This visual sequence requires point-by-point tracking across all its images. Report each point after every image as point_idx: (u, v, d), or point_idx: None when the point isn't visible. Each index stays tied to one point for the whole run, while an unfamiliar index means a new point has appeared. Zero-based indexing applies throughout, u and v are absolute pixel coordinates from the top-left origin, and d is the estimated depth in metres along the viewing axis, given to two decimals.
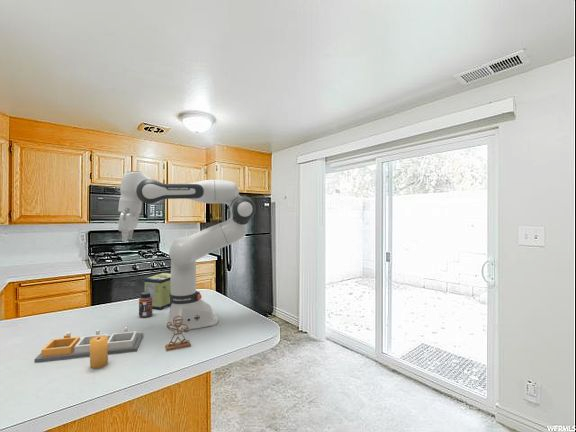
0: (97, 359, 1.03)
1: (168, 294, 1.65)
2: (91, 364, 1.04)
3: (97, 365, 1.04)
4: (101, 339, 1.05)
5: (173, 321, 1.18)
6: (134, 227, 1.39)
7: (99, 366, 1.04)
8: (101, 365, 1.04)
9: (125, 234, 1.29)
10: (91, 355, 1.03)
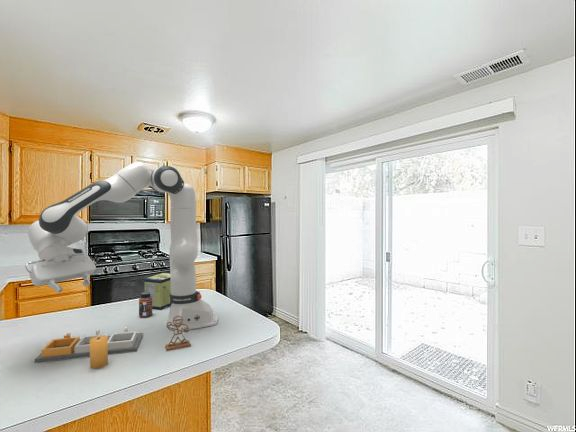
0: (97, 359, 1.03)
1: (168, 294, 1.65)
2: (91, 364, 1.04)
3: (97, 365, 1.04)
4: (101, 339, 1.05)
5: (173, 321, 1.18)
6: (80, 270, 1.14)
7: (99, 366, 1.04)
8: (101, 365, 1.04)
9: (51, 284, 1.05)
10: (91, 355, 1.03)
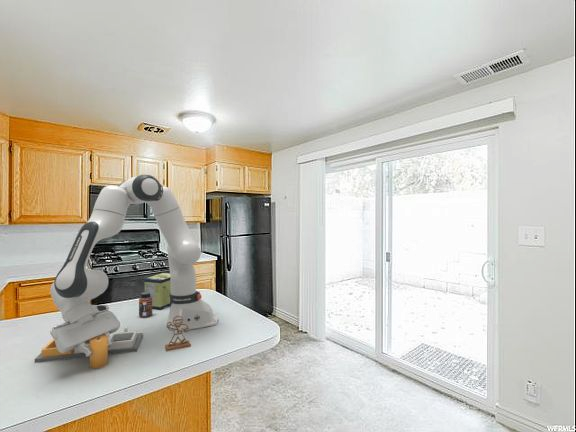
0: (97, 359, 1.03)
1: (168, 294, 1.65)
2: (91, 364, 1.04)
3: (97, 365, 1.04)
4: (101, 339, 1.05)
5: (173, 321, 1.18)
6: (105, 330, 1.10)
7: (99, 366, 1.04)
8: (101, 365, 1.04)
9: (81, 348, 1.02)
10: (91, 355, 1.03)
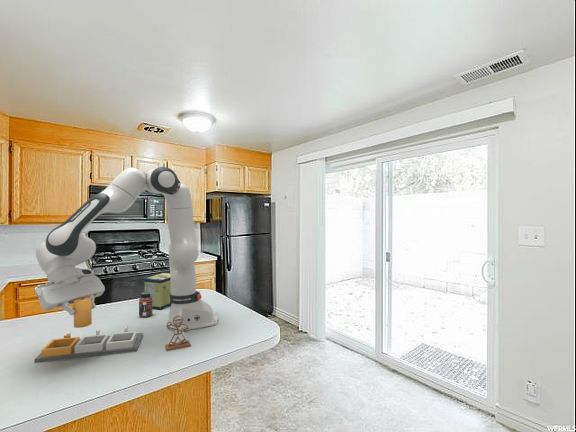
0: (80, 318, 1.06)
1: (168, 294, 1.65)
2: (75, 323, 1.06)
3: (80, 325, 1.06)
4: (85, 299, 1.07)
5: (173, 321, 1.18)
6: (89, 292, 1.12)
7: (82, 325, 1.06)
8: (84, 324, 1.06)
9: (65, 307, 1.04)
10: (75, 314, 1.06)
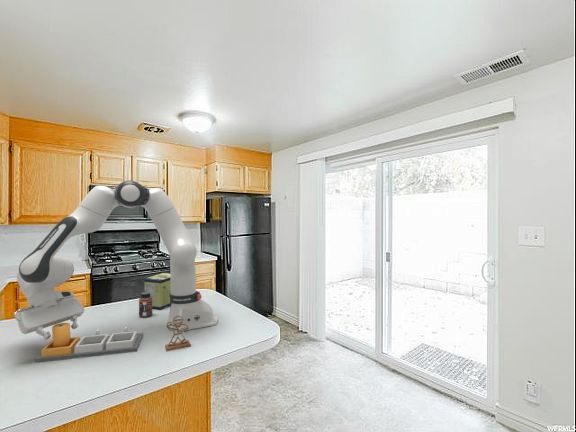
0: (58, 344, 1.11)
1: (168, 294, 1.65)
2: None
3: None
4: (63, 326, 1.13)
5: (173, 321, 1.18)
6: (68, 314, 1.17)
7: None
8: None
9: (39, 331, 1.08)
10: (53, 340, 1.11)
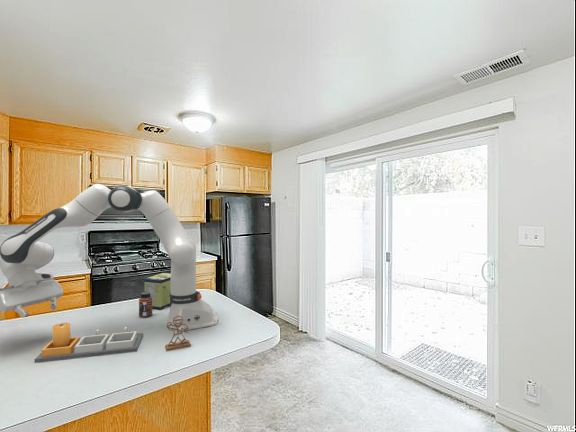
0: (58, 344, 1.11)
1: (168, 294, 1.65)
2: None
3: None
4: (63, 326, 1.13)
5: (173, 321, 1.18)
6: (47, 295, 1.22)
7: None
8: None
9: (17, 310, 1.13)
10: (53, 340, 1.11)
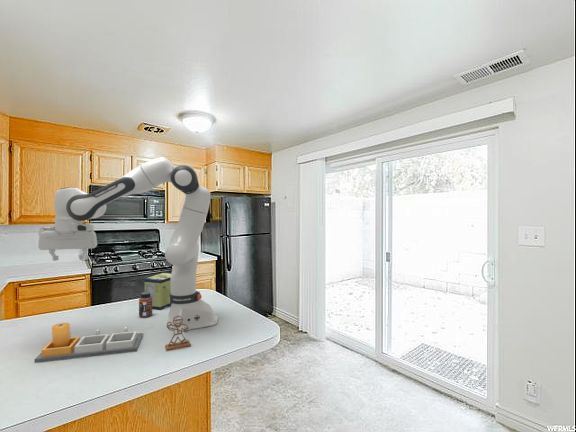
0: (58, 344, 1.11)
1: (168, 294, 1.65)
2: None
3: None
4: (63, 326, 1.13)
5: (173, 321, 1.18)
6: (77, 247, 1.28)
7: None
8: None
9: None
10: (53, 340, 1.11)
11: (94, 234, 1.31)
